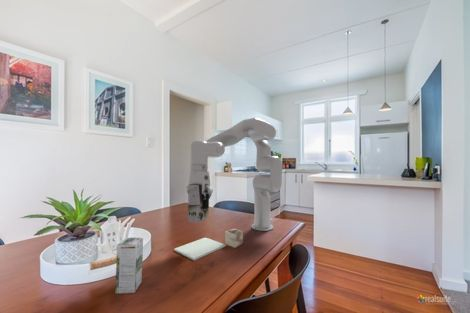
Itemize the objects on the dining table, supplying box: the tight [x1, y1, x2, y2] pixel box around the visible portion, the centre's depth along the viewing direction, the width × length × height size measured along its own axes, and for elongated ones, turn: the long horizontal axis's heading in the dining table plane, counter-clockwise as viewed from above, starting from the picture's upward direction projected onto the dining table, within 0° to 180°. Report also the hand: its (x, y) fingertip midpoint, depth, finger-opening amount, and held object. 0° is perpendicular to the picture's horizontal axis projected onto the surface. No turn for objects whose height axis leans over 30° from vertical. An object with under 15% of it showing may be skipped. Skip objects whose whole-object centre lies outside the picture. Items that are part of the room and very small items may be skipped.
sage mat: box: [173, 237, 226, 261], centre depth 92 cm, size 18×14×1 cm
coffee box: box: [187, 183, 210, 223], centre depth 92 cm, size 9×6×16 cm
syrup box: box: [114, 237, 144, 295], centre depth 64 cm, size 6×6×14 cm
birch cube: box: [224, 228, 244, 249], centre depth 98 cm, size 6×6×6 cm
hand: (198, 206), depth 92 cm, fingers closed on coffee box, 8 cm apart
